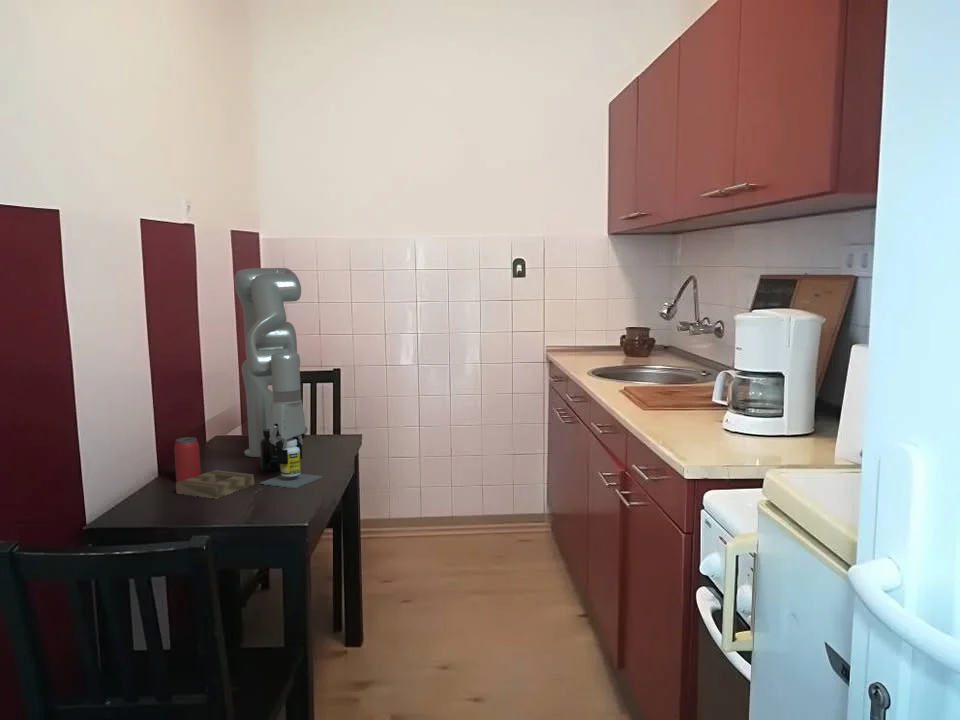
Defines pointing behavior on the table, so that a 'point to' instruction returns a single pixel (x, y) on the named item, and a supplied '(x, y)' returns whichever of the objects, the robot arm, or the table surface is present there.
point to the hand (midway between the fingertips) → (290, 460)
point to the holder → (215, 484)
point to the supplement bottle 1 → (268, 454)
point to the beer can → (187, 458)
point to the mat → (291, 480)
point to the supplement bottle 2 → (291, 460)
